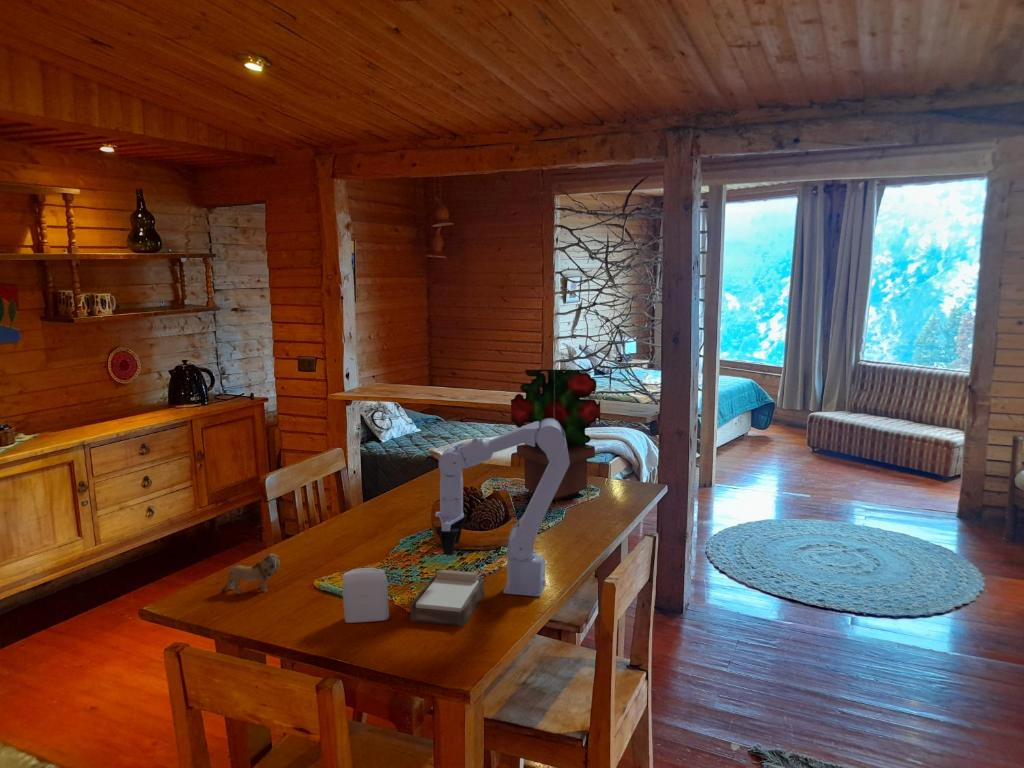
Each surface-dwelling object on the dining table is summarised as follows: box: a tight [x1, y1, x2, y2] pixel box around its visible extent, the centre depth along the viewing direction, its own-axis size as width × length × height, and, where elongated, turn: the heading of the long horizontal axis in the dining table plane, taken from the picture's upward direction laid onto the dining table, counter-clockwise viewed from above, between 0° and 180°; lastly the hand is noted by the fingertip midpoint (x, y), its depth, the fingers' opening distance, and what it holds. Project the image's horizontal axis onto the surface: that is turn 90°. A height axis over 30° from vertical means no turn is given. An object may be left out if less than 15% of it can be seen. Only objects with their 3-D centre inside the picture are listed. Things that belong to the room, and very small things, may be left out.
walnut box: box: [409, 574, 485, 628], centre depth 175 cm, size 17×13×4 cm
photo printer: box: [341, 567, 390, 624], centre depth 169 cm, size 10×4×12 cm, turn 96°
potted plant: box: [510, 367, 601, 502], centre depth 257 cm, size 22×22×45 cm
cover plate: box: [416, 569, 479, 612], centre depth 175 cm, size 15×11×3 cm
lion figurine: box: [221, 553, 281, 595], centre depth 186 cm, size 15×5×9 cm, turn 105°
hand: (451, 548), depth 184 cm, fingers open, 7 cm apart
